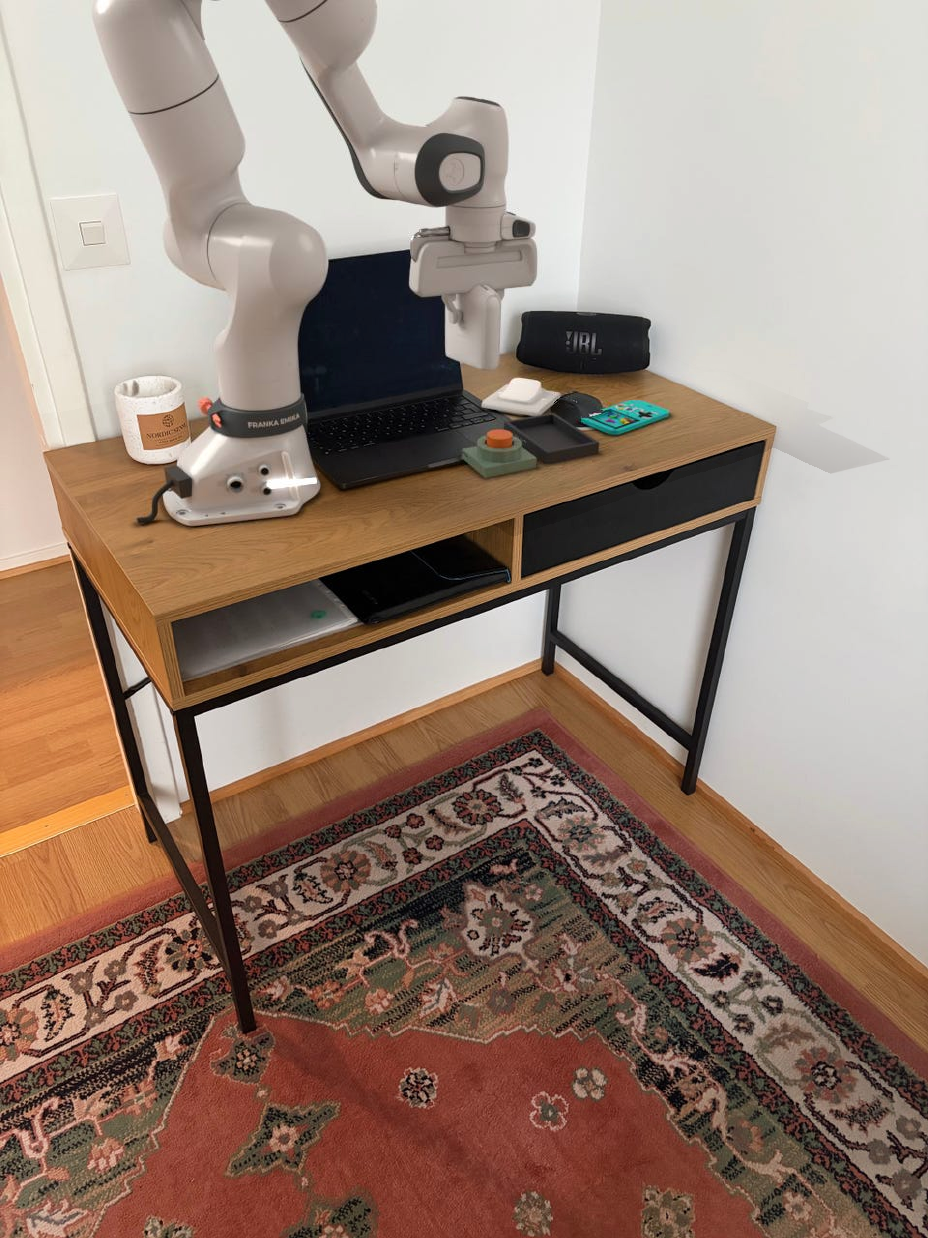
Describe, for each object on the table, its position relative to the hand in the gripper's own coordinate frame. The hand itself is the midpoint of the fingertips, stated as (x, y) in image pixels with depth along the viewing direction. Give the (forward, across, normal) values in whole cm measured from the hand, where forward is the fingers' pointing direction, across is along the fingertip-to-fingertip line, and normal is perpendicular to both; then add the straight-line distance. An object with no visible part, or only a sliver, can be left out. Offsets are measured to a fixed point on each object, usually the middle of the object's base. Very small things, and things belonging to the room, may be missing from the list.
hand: (472, 320), depth 140 cm
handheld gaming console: (+19, +29, -4) cm, 35 cm away
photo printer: (+7, 0, 0) cm, 7 cm away
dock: (+19, +11, -7) cm, 24 cm away
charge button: (+16, 0, -11) cm, 19 cm away
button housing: (+20, 0, -10) cm, 22 cm away
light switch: (+20, +16, +10) cm, 27 cm away
